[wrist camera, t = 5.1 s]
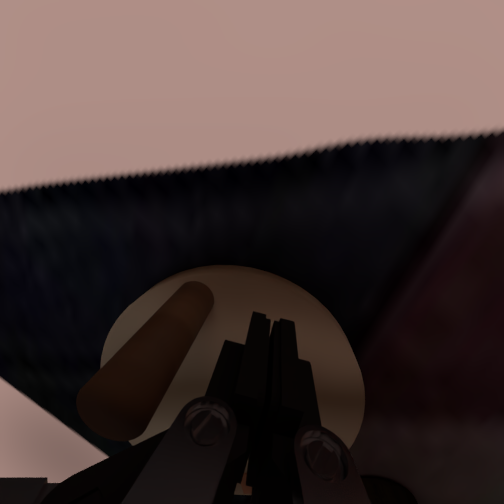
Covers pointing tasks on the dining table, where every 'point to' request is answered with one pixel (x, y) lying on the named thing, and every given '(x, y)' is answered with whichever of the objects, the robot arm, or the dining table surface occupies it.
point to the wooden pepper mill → (387, 492)
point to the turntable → (211, 352)
